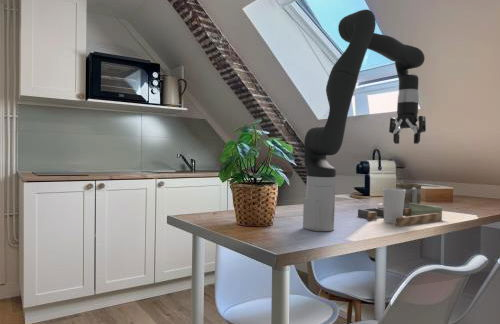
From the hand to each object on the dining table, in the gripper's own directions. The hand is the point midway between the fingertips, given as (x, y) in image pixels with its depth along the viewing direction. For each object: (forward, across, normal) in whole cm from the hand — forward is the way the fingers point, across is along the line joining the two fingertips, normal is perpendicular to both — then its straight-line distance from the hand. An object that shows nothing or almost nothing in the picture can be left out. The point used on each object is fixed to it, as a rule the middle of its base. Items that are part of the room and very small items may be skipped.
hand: (406, 143), depth 142 cm
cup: (+30, +3, -11) cm, 32 cm away
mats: (+29, -7, -4) cm, 30 cm away
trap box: (+29, 0, -4) cm, 30 cm away
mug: (+30, -9, +17) cm, 35 cm away
